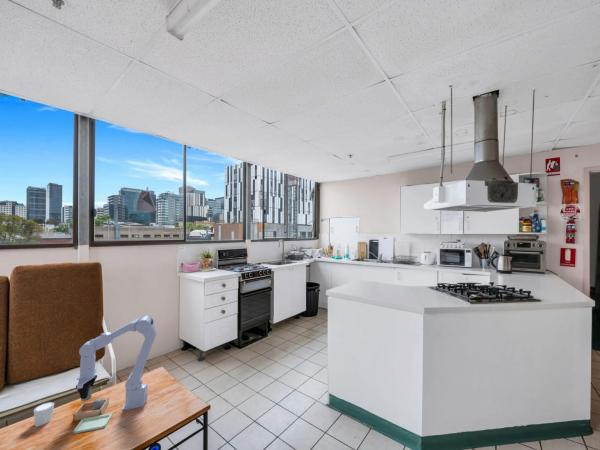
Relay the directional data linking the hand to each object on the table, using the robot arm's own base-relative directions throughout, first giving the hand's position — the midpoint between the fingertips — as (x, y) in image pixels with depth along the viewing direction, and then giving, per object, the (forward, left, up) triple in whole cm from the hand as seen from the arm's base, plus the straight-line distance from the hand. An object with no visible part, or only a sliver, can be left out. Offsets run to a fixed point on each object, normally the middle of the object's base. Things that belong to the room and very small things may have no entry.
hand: (86, 395), depth 123 cm
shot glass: (+16, +1, -9) cm, 18 cm away
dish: (-3, 0, -9) cm, 9 cm away
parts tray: (-7, +10, -9) cm, 15 cm away
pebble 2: (-5, 0, -8) cm, 10 cm away
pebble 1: (0, 0, -2) cm, 2 cm away
